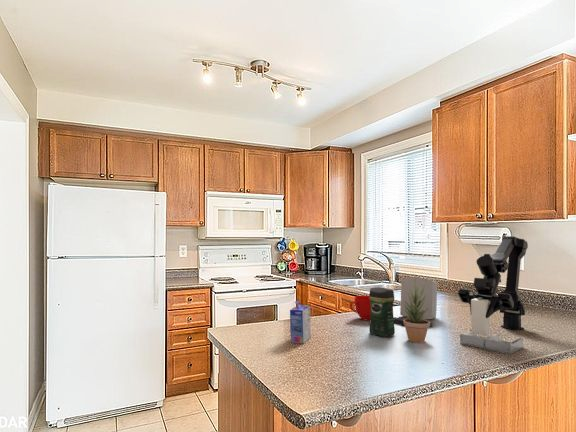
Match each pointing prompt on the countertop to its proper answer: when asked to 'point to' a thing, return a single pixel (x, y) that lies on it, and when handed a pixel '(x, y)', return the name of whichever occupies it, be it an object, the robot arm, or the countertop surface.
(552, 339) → the countertop surface
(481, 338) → the rack
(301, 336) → the ink cartridge box
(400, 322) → the disk drive
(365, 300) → the ceramic cup
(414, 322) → the potted plant
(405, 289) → the electrical switch box
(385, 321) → the coffee jar
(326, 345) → the countertop surface
